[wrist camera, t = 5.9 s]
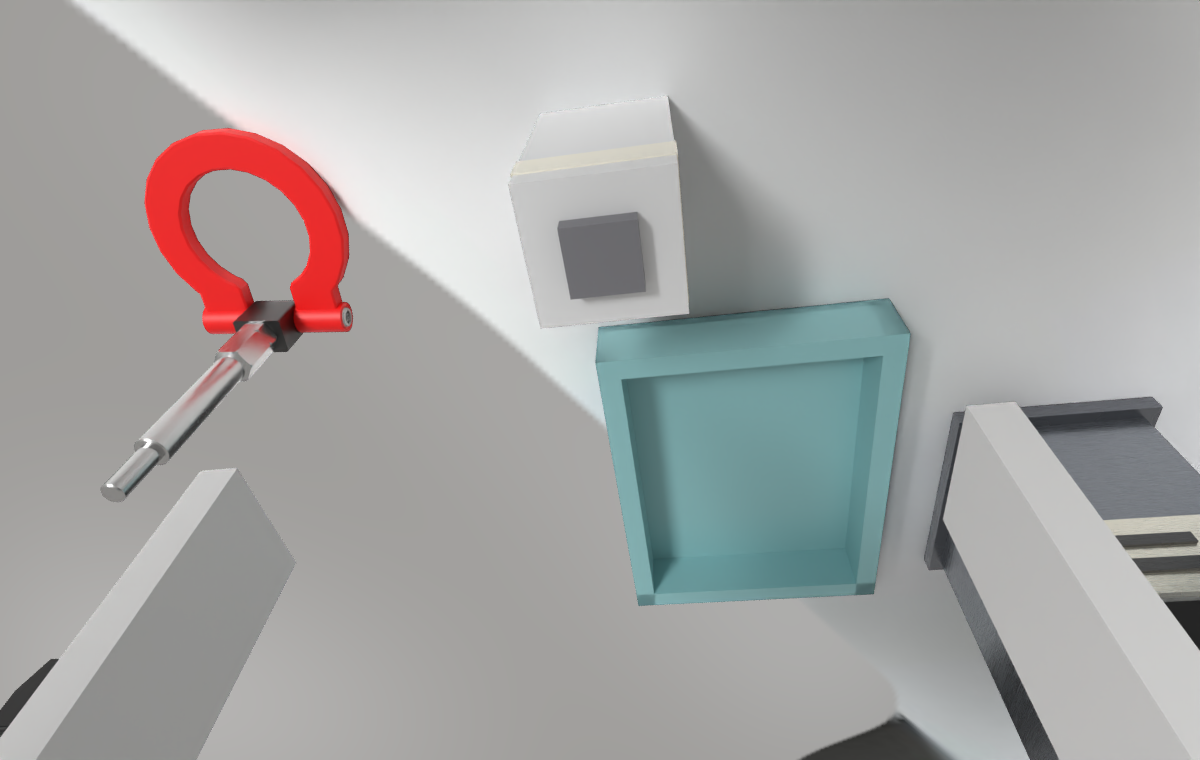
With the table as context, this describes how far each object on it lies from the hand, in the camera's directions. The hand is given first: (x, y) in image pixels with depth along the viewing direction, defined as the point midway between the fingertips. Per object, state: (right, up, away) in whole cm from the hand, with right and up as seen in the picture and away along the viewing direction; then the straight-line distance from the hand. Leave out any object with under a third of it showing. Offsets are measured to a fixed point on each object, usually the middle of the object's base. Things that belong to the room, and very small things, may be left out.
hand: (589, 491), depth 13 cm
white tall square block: (+1, +11, +15) cm, 19 cm away
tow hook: (-15, +9, +18) cm, 25 cm away
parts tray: (+8, -2, +24) cm, 25 cm away
